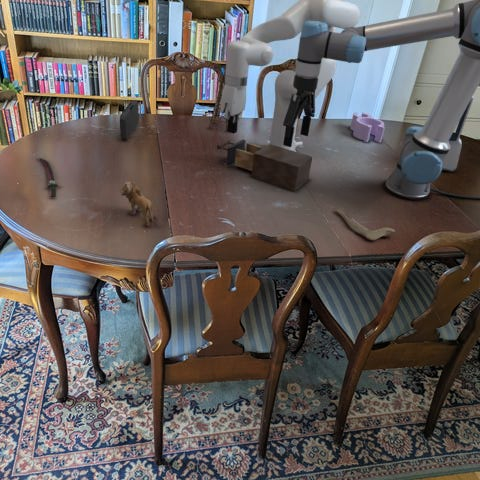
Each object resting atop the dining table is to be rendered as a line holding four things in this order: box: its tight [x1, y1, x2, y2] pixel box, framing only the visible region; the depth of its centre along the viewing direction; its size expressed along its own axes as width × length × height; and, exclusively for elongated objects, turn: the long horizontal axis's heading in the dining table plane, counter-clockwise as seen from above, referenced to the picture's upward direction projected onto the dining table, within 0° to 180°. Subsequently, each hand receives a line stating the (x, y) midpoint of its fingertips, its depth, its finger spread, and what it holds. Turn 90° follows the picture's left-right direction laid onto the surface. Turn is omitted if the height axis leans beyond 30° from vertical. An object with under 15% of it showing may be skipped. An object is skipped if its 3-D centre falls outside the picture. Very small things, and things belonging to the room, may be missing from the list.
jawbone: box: [334, 207, 396, 241], centre depth 142 cm, size 9×20×2 cm, turn 50°
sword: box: [40, 158, 59, 198], centre depth 151 cm, size 31×3×1 cm, turn 26°
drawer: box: [216, 139, 264, 172], centre depth 170 cm, size 22×11×7 cm, turn 59°
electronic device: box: [442, 95, 474, 173], centre depth 182 cm, size 12×8×30 cm, turn 71°
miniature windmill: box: [208, 59, 228, 132], centre depth 198 cm, size 9×8×30 cm
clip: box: [349, 112, 386, 143], centre depth 214 cm, size 20×12×7 cm, turn 11°
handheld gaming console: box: [119, 99, 140, 141], centre depth 189 cm, size 23×3×10 cm, turn 178°
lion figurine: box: [119, 181, 159, 227], centre depth 134 cm, size 15×5×9 cm, turn 50°
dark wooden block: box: [250, 143, 313, 192], centre depth 165 cm, size 17×12×9 cm
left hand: (231, 132), depth 169 cm, fingers closed
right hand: (295, 140), depth 157 cm, fingers open, 13 cm apart
